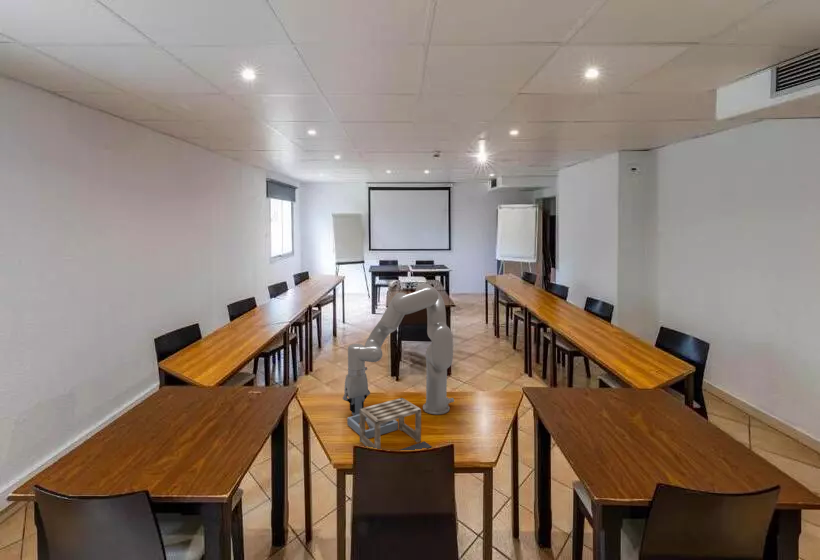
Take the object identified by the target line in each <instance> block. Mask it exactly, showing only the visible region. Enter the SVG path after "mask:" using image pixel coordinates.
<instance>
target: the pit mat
mask: <svg viewBox="0 0 820 560" xmlns="http://www.w3.org/2000/svg"><path fill="white" fill-rule="evenodd" d="M431 447H432V448H433V446H432V445H430V444H429V443H427V442H426V441H422V442H418V443H416V444H413V445H410V446H406V447H404V448H400V449H399V450H415V449H422V448H429V449H431Z"/></svg>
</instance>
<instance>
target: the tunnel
mask: <svg viewBox="0 0 820 560" xmlns="http://www.w3.org/2000/svg"><path fill="white" fill-rule="evenodd" d="M381 410H382V411H381ZM384 413H385V414H384ZM413 415H414V416H415V418H414V420H415V422H414V423H415V425H414V426H415V427H414V428H415V429H413V428H412V427H410V426H409V425H408V424H406V423H405V417H409V416H413ZM365 416H366V417H367V418H368V419H370V420H371V421H372V422H373V423H375V437H374V443H373V442H372V441H371V440H370V438H369V439H368V438H367V437H365V430H366V421H365ZM392 420H398V430H399V431H401V432H402V431H403V432H404V433H405V434H406V435H408V436H409V437H411V438H412V439H413V440H414V442H416V444H418V443H421V441H422V409H421V408H420V407H419V406H417V405H415V404H413V403H412V402H410V401H408V400H407V399H405V398H403V397H400V398H394V399H392V400H387V401H385V402H381V403H377V404H373V405H370V406H364V408H361V409H360V423H359V425H360V435H359V442H360V443H361V442H362V443H363V444H364V445H365V446H368V447H373V448H377V449H381V448H382V447H381V435H380V424H382V423H385V422H389V421H392ZM362 443H361V444H362ZM363 444H362V445H363ZM364 445H363V446H364ZM365 446H364V447H365Z"/></svg>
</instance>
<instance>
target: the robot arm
mask: <svg viewBox="0 0 820 560" xmlns="http://www.w3.org/2000/svg"><path fill="white" fill-rule="evenodd" d="M424 309H426V315H427V318H426V319H427V329H426V333H427V337H428V338H429V339H430V341H431V344H428V346H427V348H426V350H425V364H426V369H425V370H426V381H425V382H426V383H425V384H426V385H425V386H426V389H425V390H426V391H425V392H426V393H425V394H426V395H425V398H426V399H425V403H424V404H423V405H422V411H424V412H425V413H427V414H431V415H444V414H447V413H449V412H450V406H449V404H451V403H454V402H455V399H454V397H447V391H448V389H447V386H448V384H447V383H448V382H447V379H448V369H449V368H450V367H451V366H452V364H453V357H454V356H453V355H454V353H453V351H454V350H453V349H454V348H453V347H454V341H453V340H454V339H453V333H452V330H451V329H450V327H449V326H448V324H447V311H446V304H445V300H444V298H443V297H442V295H441V293H440V292H439V291H438V290H437V289H436V288H435V287H433V286H432V285H430V284H428V283H421V284H418V286H417V287H416V288H415V291H414V292H410V293H405V292H398V293H397V292H396V293H395V294H394V296H392V299H391V300H390V302H389V304H388V306H387V307H386V309H385V312H383V315H381V318H380V320H379V321H378V323H377V324H376V325H375V326H374V328H373V330H371V332H370V333H369V336H368V337H367V340H366V341H365V343H364V344H361V343H352V344H349V345H348V346H347V374H346V375H345V381H344V389H343V390H344V395H343V396H342V400H343V401H346V402H348V403H349V410H350V412H351V413H352V412H353V413H355V404H354V398H355V397H359V396H362V408H365V400H366V399H367V398H368V396H369V395H371V391H370V389H369V383H368V377H367V373H366V371H367V370H368V367H367V366H366V362H369V363H377V362H379V361H380V360H381V359H382V357H383V350H382V345H383V344H384V342H385V341H386V339H387V338H388V336H389V335H390V334H391V333H394V332H395V331H396V330H397V329H398V327H399V326H400V325H401V323H402V321H403V318H404V317H405V315H410V314H413V313H416V312H419V311H422V310H424Z"/></svg>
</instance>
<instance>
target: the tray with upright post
mask: <svg viewBox="0 0 820 560" xmlns="http://www.w3.org/2000/svg"><path fill="white" fill-rule="evenodd" d="M354 404H355V413H353V412H352V411H351V415H352V416H348V417H347V419H346V421H347V422H346V423H347V426H348V427H350V429H352V430H353V431H354V432H355V433H357V434H358V435H359V436H360V409H361V408H362V396H359V397H355V398H354ZM366 419H367V417H366V416H365V422H366ZM398 430H399V421H397V419H395V420H392V421H389V422H387V424H385V425H382V426H380V436H381V435H385V434H389V433H392V432H395V431H398ZM365 437H367V438H368V439H369V440H370V439H372V438H375V428H372V429H369V428H368V429H365Z"/></svg>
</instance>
